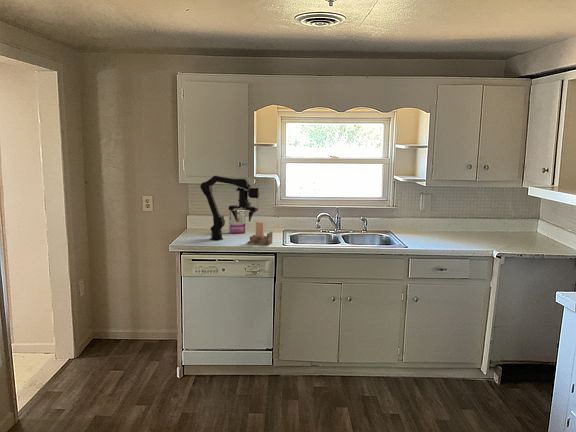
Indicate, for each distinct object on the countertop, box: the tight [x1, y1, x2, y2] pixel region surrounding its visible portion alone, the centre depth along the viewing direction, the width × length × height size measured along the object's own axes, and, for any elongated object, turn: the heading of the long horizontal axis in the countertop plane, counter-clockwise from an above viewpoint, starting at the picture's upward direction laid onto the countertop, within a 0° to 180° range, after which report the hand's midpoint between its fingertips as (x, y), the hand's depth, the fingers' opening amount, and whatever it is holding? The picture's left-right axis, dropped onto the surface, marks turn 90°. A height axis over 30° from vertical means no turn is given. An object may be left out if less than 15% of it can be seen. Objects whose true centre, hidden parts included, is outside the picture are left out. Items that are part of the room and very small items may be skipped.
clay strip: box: [255, 221, 265, 237], centre depth 307 cm, size 5×2×13 cm, turn 72°
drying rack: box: [247, 231, 273, 246], centre depth 308 cm, size 14×8×8 cm, turn 73°
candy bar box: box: [228, 209, 246, 235], centre depth 340 cm, size 11×5×16 cm, turn 112°
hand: (243, 221), depth 313 cm, fingers open, 9 cm apart
